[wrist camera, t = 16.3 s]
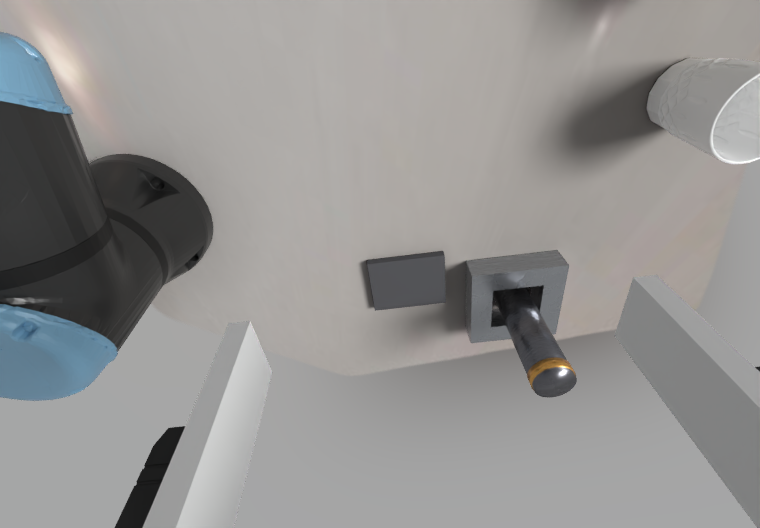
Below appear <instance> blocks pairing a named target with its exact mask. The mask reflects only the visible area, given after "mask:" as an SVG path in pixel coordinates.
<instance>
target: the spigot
mask: <svg viewBox="0 0 760 528" xmlns="http://www.w3.org/2000/svg"><path fill="white" fill-rule="evenodd" d="M493 297H494V300H495V302H496V304H497V306H498V309H499V311H500V313H501V316H502V318H503V320H504V323H505V325H506V327H507V329H508V332H509V334H510V336H511V339H512V341H513V343H514V346H515V348H516V350H517V352H518V355H519V357H520V359H521V362H522V364H523V366H524V369H525V371H526V373H527V377H528V380H529V382H530V385H531V387H532V389H533V390H534V391H535V393H536V394H537V395H539V396H542V397H556V396H560V395H563V394H565V393H567V392H568V391H570V390H571V389H572V388H573V387H574V385H575V384H576V375H575V372H574V370H573V368H572V367H571V365H570V363H569V362H568V361H567V360H566V358H565V356H564V355H563V353H562V351H561V349H560V348H559V346H558V344H557V342H556V340H555V338H554V337H553V335H552V333H551V331H550V330H549V328H548V326H547V324H546V322H545V321H544V319H543V317H542V315H541V314H540V312H539V310H538V308H537V306H536V305H535V303H534V301H533V299H532V298H531V296H530V294H529V292H528V290H527V289H526V287H524V288H515V289H507V290H498V291H493Z"/></svg>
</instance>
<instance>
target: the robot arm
mask: <svg viewBox="0 0 760 528" xmlns="http://www.w3.org/2000/svg"><path fill="white" fill-rule="evenodd" d="M71 114H73V112H72V109H71V108H70V107H69V106H68V105H67V104H65V102H64V99H63V97H62V95H61V92H60V90H59V88H58V86H57V83H56V81H55V79H54V76H53V74H52V72H51V70H50V67H49V65H48V63H47V61H46V59H45V58H44V57H43V55H42V54H41V53H40V52H39V51H38V50H37V49H36V48H35V47H34V46H32V45H31V44H30V43H28V42H26V41H25V40H23V39H21V38H19V37H17V36H14V35H11V34H8V33H4V32H0V397H3V398H9V399H18V400H32V401H34V400H35V401H39V400H53V399H59V398H63V397H67V396H70V395H73V394H75V393H78V392H80V391H82V390H83V389H85V388H86V387H88V386H89V385H90V384H91V383H92V382H93V381H94V380H95V379H96V378H97V376H98V375H99V374H100V373H101V371H102V370H103V369H104V368H105V366H106V365H107V364H108V363H110V362H111V361H113V360H114V359H115V357H116V356H117V354H118V353H117V352H118V350H119V349H120V348H121V346H122V345H123V343H124V342H125V340H126V339H127V337H128V336H129V335H130V333H131V332H132V330H133V329H134V327H135V326H136V324H137V323H138V321H139V320H140V318H141V317H142V315H143V314H144V313H145V311H146V309H147V308H148V307H149V305H150V304H151V302H152V301H153V299H154V298H155V296H156V295H157V294H158V292H159V291H160V289H161V288H162V287H163V285H165V284H166V283H168V282H170V281H171V280H173V279H175V278H177V277H178V276H180V275H182V274H183V273H185V272H187V271H189V270H190V269H191V268H193V267H194V266H195V265H196V264H197V263H198V262H199V261H200V260H201V258H202V257H203V255H204V254H205V252H206V251H207V249H208V247H209V245H210V243H211V240H212V236H213V222H212V217H211V214H210V211H209V208H208V206H207V204H206V202H205V201H204V199H203V197H202V196H201V195H200V193H199V192H198V191H197V189H196V188H195V187H194V186H193V185H192V184H191V183H190V182H189V181H188V180H187V179H186V178H184V177H183V176H182V175H181V174H179V173H178V172H176V171H175V170H173V169H172V168H170V167H168V166H166V165H164V164H162V163H160V162H158V161H155V160H153V159H150V158H147V157H143V156H138V155H131V154H116V155H110V156H106V157H103V158H100V159H98V160H96V161H94V162H92V163H91V164H89V163H88V160H87V157H86V155H85V152H84V149H83V147H82V144H81V141H80V138H79V136H78V133H77V130H76V128H75V125H74V122H73V120H72V117H71ZM615 337H616V338H617V340H618V341H619V342H620V344H621V345H622V346H623V348H624V349H625V350H626V352H627V353H628V354H629V356H630V357H631V358H632V360H633V361H634V363H635V364H636V365H637V366H638V368H639V369H640V370H641V372H642V373H643V375H644V376H645V377H646V379H647V380H648V381H649V382H650V384H651V385H652V387H653V388H654V389H655V391H656V392H657V393H658V395H659V396H660V397H661V399H662V400H663V402H664V403H665V404H666V406H667V407H668V408H669V410H670V411H671V412H672V414H673V415H674V416H675V418H676V419H677V420H678V422H679V423H680V424H681V426H682V427H683V428H684V430H685V431H686V432H687V434H688V435H689V437H690V438H691V439H692V441H693V442H694V443H695V445H696V446H697V447H698V449H699V450H700V451H701V453H702V454H703V455H704V457H705V458H706V459H707V461H708V462H709V463H710V465H711V466H712V467H713V469H714V470H715V471H716V473H717V474H718V476H719V477H720V478H721V480H722V481H723V482H724V483H725V485H726V486H727V488H728V489H729V490H730V492H731V493H732V494H733V496H734V497H735V498H736V500H737V501H738V502H739V504H740V505H741V506H742V508H743V509H744V510H745V512H746V513H747V514H748V516H749V517H750V518H751V520H752V521H753V522H754V524H755V525H756V526H757V528H760V367H754V366H753V365H752V364H751V363H750V362H749V361H748V360H747V359H746V358H745V357H744V356H743V355H741V354H740V353H739V352H738V351H737V350H736V349H735V348H734V347H733V346H732V345H731V344H730V343H729V342H728V341H727V340H725V339H724V338H723V337H722V336H721V335H720V334H719V333H718V332H717V331H716V330H715V329H714V328H713V327H712V326H711V325H710V324H709V323H707V322H706V321H705V320H704V319H703V318H702V317H701V316H700V315H699V314H698V313H697V312H696V311H695V310H694V309H693V308H692V307H690V306H689V305H688V304H687V303H686V302H685V301H684V300H683V299H682V298H681V297H680V296H679V295H678V294H677V293H676V292H675V291H673V290H672V289H671V288H670V287H669V286H668V285H667V284H666V283H665V282H664V281H663V280H662V279H661V278H660V277H659V276H658V275H651V276H642V277H633V280H632V283H631V287H630V290H629V293H628V296H627V299H626V302H625V305H624V308H623V311H622V314H621V317H620V321H619V324H618V327H617V330H616V333H615ZM271 376H272V371H271V369H270V366H269V363H268V361H267V359H266V357H265V354H264V352H263V350H262V347H261V345H260V343H259V340H258V338H257V336H256V333H255V331H254V329H253V326H252V324H251V322H250V321H246V322H237V323H229V324H228V327H227V329H226V331H225V334H224V336H223V338H222V341H221V343H220V345H219V348H218V350H217V353H216V355H215V357H214V360H213V362H212V364H211V367H210V369H209V372H208V374H207V376H206V379H205V381H204V383H203V386H202V388H201V391H200V393H199V395H198V398H197V400H196V402H195V405H194V407H193V409H192V412H191V414H190V417H189V419H188V421H187V424H186V426H183V427H174V428H168V429H167V430H166V432H165V433H164V434H163V435H162V436H161V438H160V439H159V440H158V441H157V442H156V444H155V445H154V446H153V448H152V450H151V453H150V455H149V457H148V459H147V461H146V463H145V468H144V469H143V470H142V471H141V473H140V476H139V478H138V480H137V485H136V486H134V488H133V490H132V492H131V494H130V497H129V499H128V501H127V503H126V505H125V507H124V509H123V511H122V514H121V516H120V518H119V520H118V522H117V524H116V526H115V528H234V524H235V520H236V515H237V512H238V508H239V504H240V500H241V496H242V492H243V488H244V484H245V480H246V476H247V472H248V468H249V464H250V460H251V456H252V452H253V448H254V444H255V440H256V436H257V432H258V428H259V424H260V420H261V416H262V412H263V408H264V404H265V400H266V395H267V391H268V388H269V384H270V380H271Z"/></svg>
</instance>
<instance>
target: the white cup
mask: <svg viewBox="0 0 760 528" xmlns="http://www.w3.org/2000/svg"><path fill="white" fill-rule="evenodd" d="M646 109H647V112H648V115H649V118H650V120H651V121H652V122H654V123H655V124H657V125H658V126H660V127H662V128H663V129H665V130H667V131H668V132H669V133H670V134H672V135H674V136H676V137H677V138H678V139H681V140H682V141H684V142H686V143H688V144H690V145H692V146H694V147H695V148H697V149H699V150H701V151H703V152H705V153H707V154H709V155H711V156H713V157H714V158H716V159H718V160H720V161H722V162H724V163H728V164H745V163H749V162H753V161H755V160H758V159H760V61H754V60H743V59H726V58H716V59H711V58H687V59H685V60H683V61H681V62H678V63H676V64H674V65H672V66H671V67H670V68H669V69H668V70H667V71H665V72H664V73H663V74H662V75H661V76H660V77H659V78H658V79H657V81H656V83H655V84H654V86H653V88H652V89H651V91H650V93H649V96H648V102H647V108H646Z"/></svg>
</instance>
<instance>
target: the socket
mask: <svg viewBox="0 0 760 528" xmlns="http://www.w3.org/2000/svg"><path fill="white" fill-rule="evenodd" d="M568 269H569V264H568V263H567V262H566V261H565V259H564V258H563V257H562V255H561V254H560V253H559V251H558V250H554V251H546V252H537V253H529V254H520V255H512V256H503V257H495V258H486V259H478V260H469V261H466V325H465V326H466V329H467V333H468V336H469V339H470V342H471V343H477V342H487V341H496V340H505V339H511V336H510V334H509V332H508V329H507V327H506V325H505V323H504V320H503V318H502V316H501V313H500V311H499V309H493V310H492V302H493V291H498V290H507V289H515V288H524V287H532V289H531V298H532V299H533V301H534V303H535V305H536V306H537V308H538V310H539V312H540V314H541V315H542V317H543V319H544V321H545V322H546V324H547V326H548V328H549V330H550V331H551V333H552V334H556V329H557V324H558V319H559V314H560V309H561V304H562V299H563V294H564V289H565V284H566V279H567V274H568Z"/></svg>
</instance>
